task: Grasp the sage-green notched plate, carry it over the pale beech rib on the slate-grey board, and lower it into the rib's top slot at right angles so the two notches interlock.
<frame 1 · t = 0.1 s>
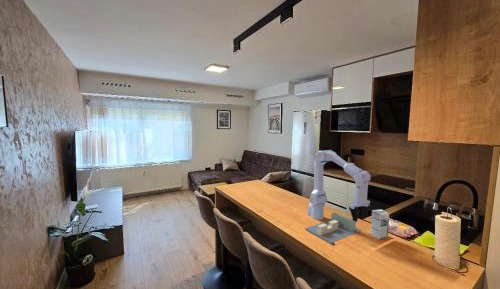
hand: (359, 219, 119), 10 cm above the breakfast bar, fingers open, 7 cm apart
slotted base: (333, 231, 127), on the breakfast bar
cross plate: (342, 226, 131), point 1 cm above the breakfast bar, touching slotted base
syrup box: (378, 237, 121), on the breakfast bar
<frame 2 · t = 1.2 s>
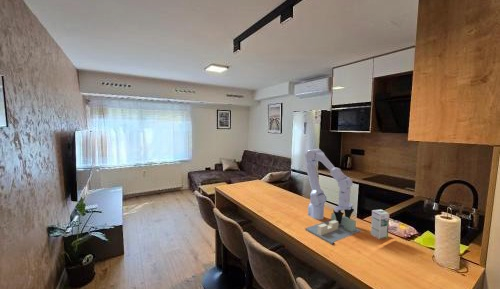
hand: (343, 221, 131), 4 cm above the breakfast bar, fingers open, 7 cm apart
nothing on the breakfast bar moved.
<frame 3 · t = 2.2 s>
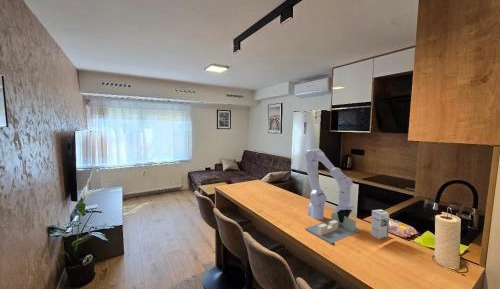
hand: (343, 221, 131), 4 cm above the breakfast bar, fingers closed on cross plate, 3 cm apart
cross plate: (342, 226, 131), point 1 cm above the breakfast bar, touching gripper, slotted base
everything else where it was.
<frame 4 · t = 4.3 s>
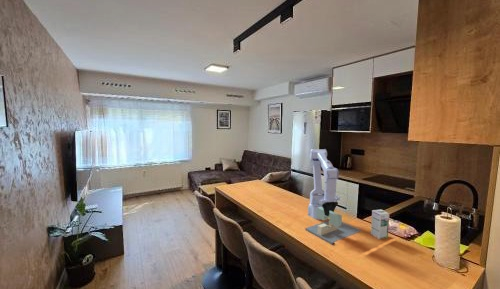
hand: (328, 214, 124), 10 cm above the breakfast bar, fingers closed on cross plate, 3 cm apart
cross plate: (328, 221, 124), point 7 cm above the breakfast bar, touching gripper
everything else where it was.
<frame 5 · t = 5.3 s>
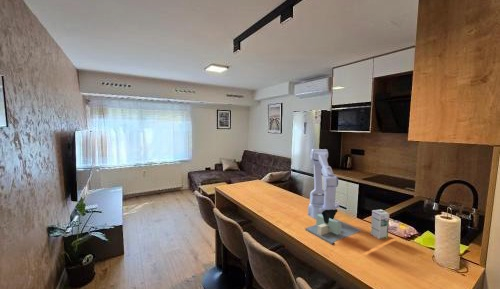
hand: (328, 222, 124), 6 cm above the breakfast bar, fingers closed on cross plate, 3 cm apart
cross plate: (328, 228, 124), point 3 cm above the breakfast bar, touching gripper
everything else where it was.
when the fingers open (6 cm above the breakfast bar, at t = 6.3 s): cross plate drops 2 cm, resting on slotted base.
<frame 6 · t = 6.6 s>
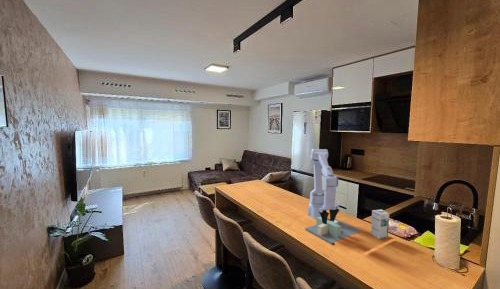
hand: (328, 222, 124), 6 cm above the breakfast bar, fingers open, 6 cm apart
cross plate: (327, 231, 124), point 1 cm above the breakfast bar, touching slotted base
everything else where it was.
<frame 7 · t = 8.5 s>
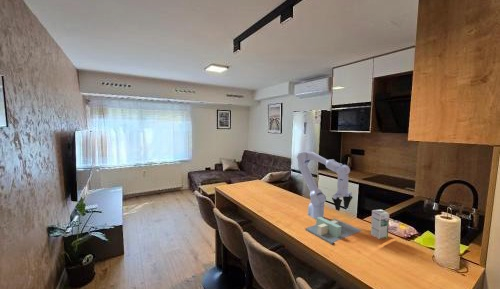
hand: (341, 208, 133), 10 cm above the breakfast bar, fingers open, 7 cm apart
nothing on the breakfast bar moved.
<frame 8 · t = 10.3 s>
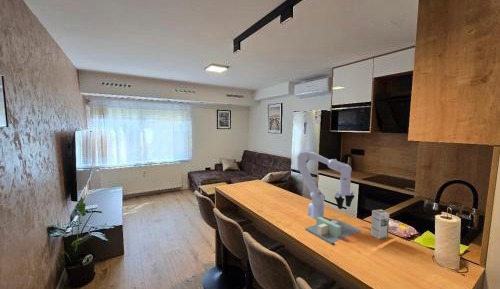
hand: (344, 207, 135), 10 cm above the breakfast bar, fingers open, 7 cm apart
nothing on the breakfast bar moved.
at the end: cross plate 0.1 cm from the target spot on the slotted base, point 1.0 cm above the slotted base's base; cross plate tilted 0°; the gripper is holding nothing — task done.
